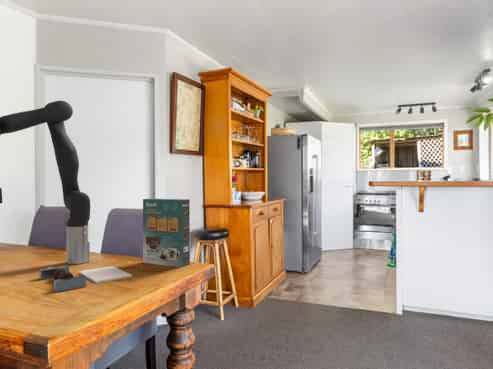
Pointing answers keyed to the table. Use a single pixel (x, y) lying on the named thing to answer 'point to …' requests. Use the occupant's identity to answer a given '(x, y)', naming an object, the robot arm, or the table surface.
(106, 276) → the board
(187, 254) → the cake mix box
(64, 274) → the bolt
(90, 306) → the table surface
